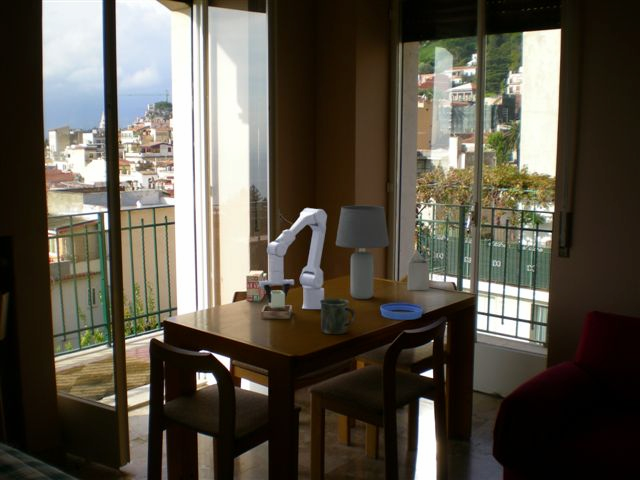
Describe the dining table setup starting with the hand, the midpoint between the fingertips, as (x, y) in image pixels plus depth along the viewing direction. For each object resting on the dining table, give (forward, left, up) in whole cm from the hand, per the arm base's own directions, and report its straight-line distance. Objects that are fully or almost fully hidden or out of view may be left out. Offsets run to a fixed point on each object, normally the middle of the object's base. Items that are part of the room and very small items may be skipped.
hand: (276, 302), depth 291 cm
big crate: (0, 0, -6) cm, 6 cm away
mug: (-26, +25, -6) cm, 37 cm away
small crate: (0, 0, -2) cm, 2 cm away
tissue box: (-68, -58, -6) cm, 90 cm away
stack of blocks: (+13, -38, -6) cm, 40 cm away
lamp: (-37, -36, -6) cm, 52 cm away
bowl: (-53, -3, -6) cm, 53 cm away
